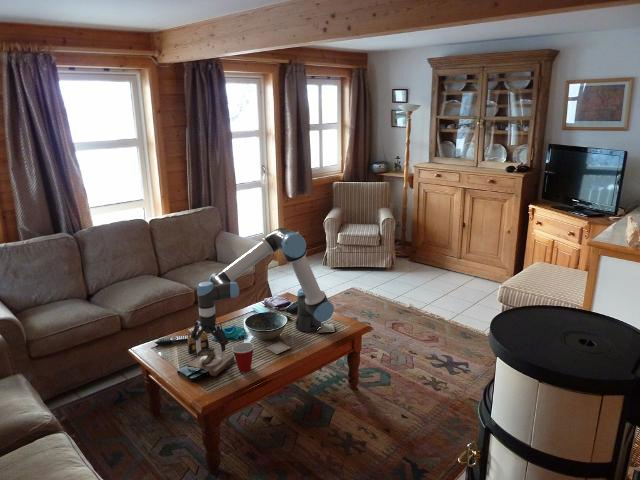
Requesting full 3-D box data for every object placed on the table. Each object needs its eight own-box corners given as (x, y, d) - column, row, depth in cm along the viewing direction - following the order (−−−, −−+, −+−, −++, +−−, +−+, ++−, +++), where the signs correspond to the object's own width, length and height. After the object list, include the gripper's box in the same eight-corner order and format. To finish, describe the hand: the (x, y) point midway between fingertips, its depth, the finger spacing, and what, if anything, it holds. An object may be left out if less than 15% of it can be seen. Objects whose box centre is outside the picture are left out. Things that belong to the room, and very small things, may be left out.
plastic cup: (248, 360, 238) (247, 339, 235) (260, 369, 230) (258, 347, 227) (229, 368, 232) (227, 345, 229) (240, 377, 224) (238, 354, 220)
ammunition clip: (189, 353, 246) (187, 332, 243) (188, 352, 248) (186, 330, 244) (209, 347, 252) (207, 326, 248) (207, 346, 253) (206, 325, 250)
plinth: (234, 360, 239) (234, 354, 238) (215, 376, 225) (215, 370, 224) (207, 354, 245) (207, 348, 244) (187, 369, 231) (187, 364, 230)
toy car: (246, 339, 261) (246, 328, 259) (213, 343, 257) (212, 331, 256) (245, 330, 271) (245, 319, 269) (213, 333, 268) (212, 322, 266)
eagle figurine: (207, 352, 239) (194, 356, 231) (213, 342, 236) (200, 346, 229) (216, 363, 236) (203, 368, 229) (223, 353, 234) (210, 358, 226)
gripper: (234, 315, 226) (236, 355, 232) (190, 307, 236) (194, 346, 242) (225, 321, 220) (228, 362, 226) (180, 313, 229) (184, 352, 235)
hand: (210, 354), depth 234 cm, fingers open, 13 cm apart
